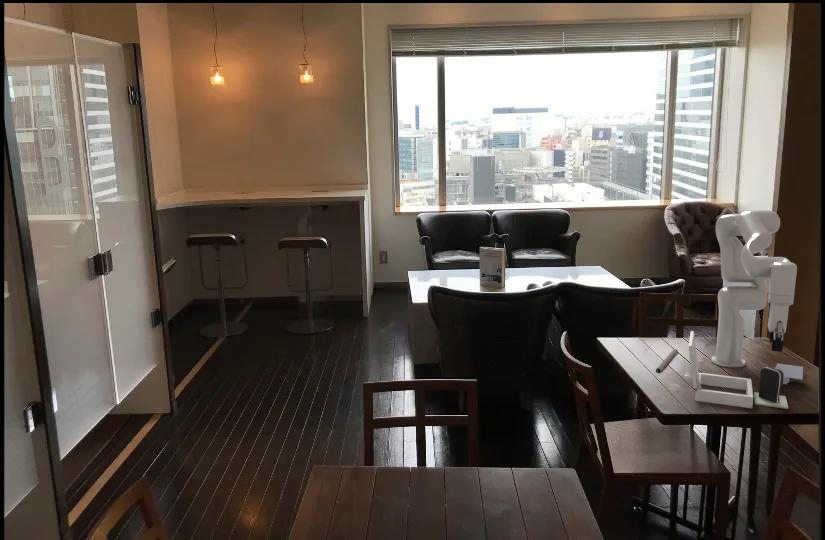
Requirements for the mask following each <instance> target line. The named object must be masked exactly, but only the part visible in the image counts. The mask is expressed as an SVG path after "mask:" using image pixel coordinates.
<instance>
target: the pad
mask: <svg viewBox="0 0 825 540" xmlns="http://www.w3.org/2000/svg"><path fill="white" fill-rule="evenodd" d="M758 395H759V392H755V391H753V401H754V405H757V406H765V407H773V408H779V409H789V406H788V401H787V398H786V397H787V396H785V395H780V394H779V398H780V401H779V402H777V403H774V402H771V401H768V400H766V399H763V398H761V397H759V396H758Z"/></svg>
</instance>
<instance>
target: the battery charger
mask: <svg viewBox="0 0 825 540" xmlns="http://www.w3.org/2000/svg"><path fill="white" fill-rule="evenodd" d="M783 379H784V374H783V372H782V371H781V370H779V369H776V367H772V366H764V367H762V368H761V369H760V373H759V386H758V387H759V388H758V393H759V395H758V396H759V397H761V398H763V399H766V400H768V401H771V402H774V403H777V402H779V401H780V398H779V395H780V391H781V386H784V385H783Z"/></svg>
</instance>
